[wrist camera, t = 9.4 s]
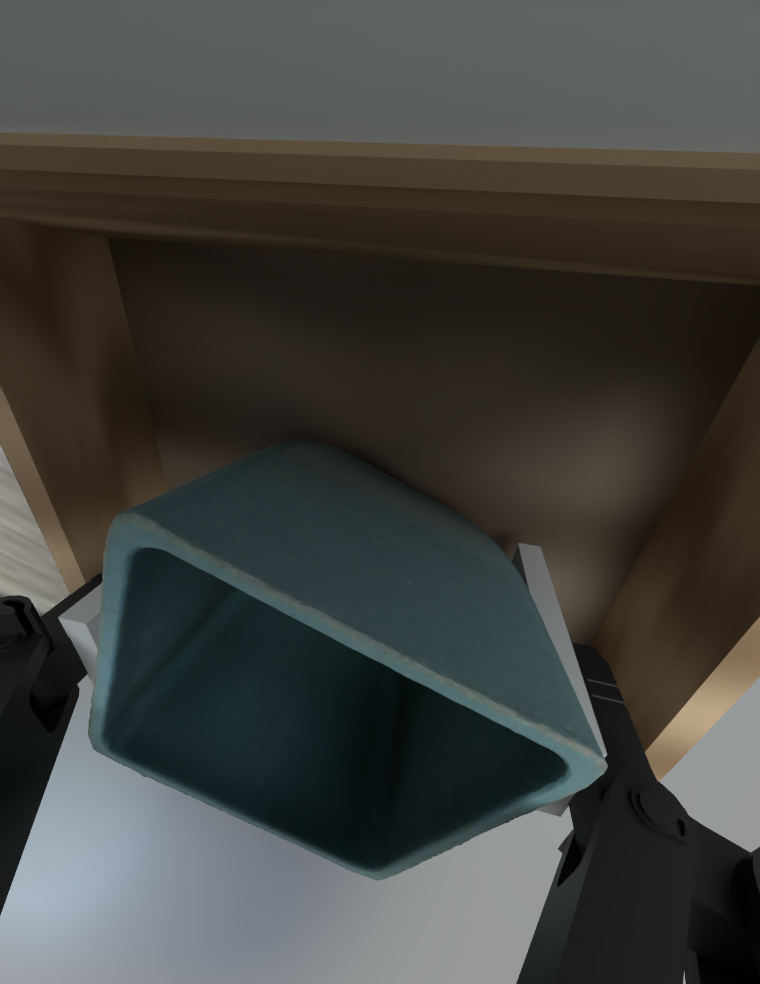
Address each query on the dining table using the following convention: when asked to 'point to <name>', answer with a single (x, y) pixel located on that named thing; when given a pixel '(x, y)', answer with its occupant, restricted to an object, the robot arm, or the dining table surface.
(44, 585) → the dining table surface
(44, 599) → the dining table surface
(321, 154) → the lid
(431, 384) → the cold frame
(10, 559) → the dining table surface
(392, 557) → the flower pot
